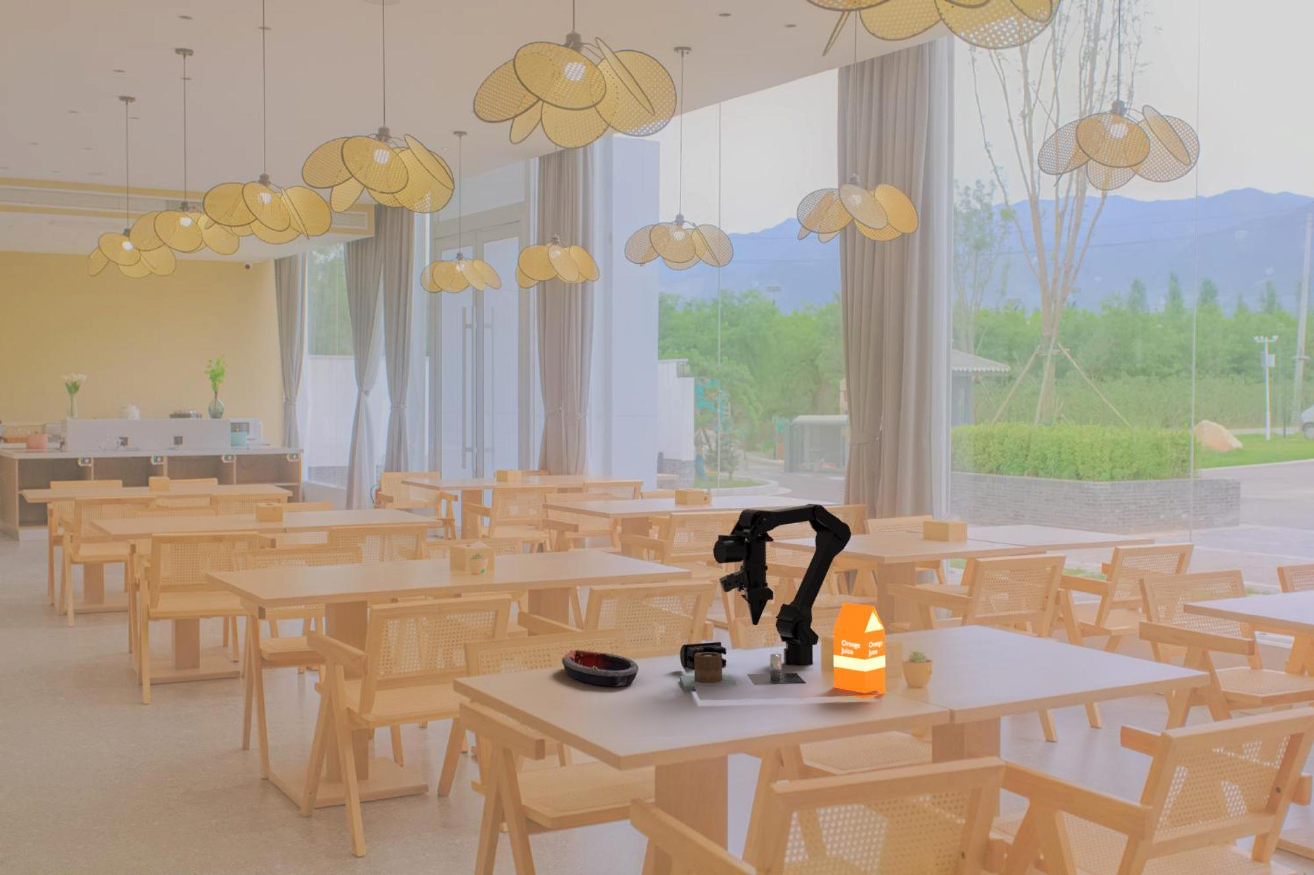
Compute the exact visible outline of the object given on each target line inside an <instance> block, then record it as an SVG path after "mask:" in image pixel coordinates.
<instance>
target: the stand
mask: <svg viewBox="0 0 1314 875" xmlns="http://www.w3.org/2000/svg"><path fill="white" fill-rule="evenodd" d="M769 659H770V660H769V662H770V666H769V667H770V670H769V671H770V673H747V674H746V675H747V677H748V678H749V680H750V681H751V682H752V683H753V685H755V686H759V685H766V686H767V685H796V684H797V685H798V684H807V682H806V681H805V680H804V679H803V678H802V677H801V676H800V675H799V674H798V673H797V672H789V673H788V672H787V673H786V672H783V673H782V671H783V670H782V654H780V653H771V654H770V655H769Z"/></svg>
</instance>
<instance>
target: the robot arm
mask: <svg viewBox="0 0 1314 875" xmlns="http://www.w3.org/2000/svg"><path fill="white" fill-rule="evenodd" d="M804 522H805V523H806V522H808V523H809V525H810V528H811V529H812V530H813V531H814V532H815V533H816V534H815V537H814V538H815V539H814V541H815V542H814V544H815V551H814V553H813V556H812V558H811V560H810V562H809V565H808V566H807V569H806V571H805V574H804V577H803V578H802V580H801V581H800V582H801V583H800V585H799V587H798V589H797V591H796V594H795V595H794V598H793V600H792V601H791V602H790V603H789V604H786V603H782V605H781V606H780V608H779V611H778V613H777V615H776V617H775V619H776V621H775V627H776V632H777V633H778V634H779V637H780V640H781V642H782V643H785V648H783V664H784V665H785V666H796V667H797V666H799V667H801V666H802V667H803V666H805V667H806V666H810V665H814V663H813V662H814V652H813V651H814V650H813V649H814V647H813V646H817V644H818V641H819V638H820V637H819V635H818V634H817V633H816V632H815V630H814V629H812V623H813V610H812V608H813V606H814V603H815V601H816V599H817V597H818V595H819V593H820V590H821V588H822V586H823V583H824V581H825V579H826V577H827V575H828V572H829V570H830V567H831V565H832V563H833V561H834V559H835V557H836V556H838V555H839V554H840V553H841V552H842V551H844V549H846V546H847V545H848V543H849V542H850V540H851V537H852V531H851V528H850V526H849V525H848V523H846V522H844V521H842V520H841V519H840V518H839V517H837V515H834V514H832V513H831V512H830V511H828V509H826V508H825V507H824V506H823V505H821V504H819V503H818V504H815V503H807V504H805V505H799V506H792V507H785V508H779V509H772V510H766V509H755V508H754V509H753V508H751V509H750V508H746V509H744V510H742V511H741V512H740V513H739V516H738V520H737V521H736V523H735V525H734V527H733V528H732V530H731V532H730V533H729V534H728V535H726V534H719V535H718V537H717V541H715V543H714V546H713V548H712V553H713V557H714V560H715V561H716V563H718V564H721V565H722V564H733V563H741V562H742V564H741V565H740V567H739V568H740V570H738V571H736V572H735V571H734V572H731V573H729V574H726V575H725V576H722V577H720V578H719V579H718V580H719V583H720V585H721V588H722V590H723V592H724V593H729V592H732V590H734V589H736V591H737V592H738V593H740V592H742V591H743V594H740V596H741V597H742V598H743V600H744V601H746V603H747V606H748V609H749V610H748V611H749V615H750V620H751V624H752V625H753V626H758V624H759V622H760V620H761V618H762V614H763V612H764V610H765V608H766V606H767V603H768V601H774V591H773V590H772V589H771V588H770V587H769V583H768V582H767V571H768V569H769V567H768V565H767V543H772V542H774V540H775V539H774V538H773V537H772V536H770V534H769V533H768V532H771V531H773V530H775V529H776V528H777V527H780V526H787V525H792V524H798V523H804Z"/></svg>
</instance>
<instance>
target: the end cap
mask: <svg viewBox="0 0 1314 875" xmlns="http://www.w3.org/2000/svg"><path fill="white" fill-rule="evenodd" d="M704 652H713V653H719V654H722V655H727V649H726V647H724V646H722V642H720V641H714V642H702V643H689V644H688V643H687V644H683V645H682V646H681V648H680V652H679V660H680V664H681V667H682V668H683V669H684V670H685V672H687V670H686V668H690V669H692V670H694V655H695V654H696V653H704ZM726 666H727V659H725V658H723V657H722V668H725V667H726Z"/></svg>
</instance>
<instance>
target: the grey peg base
mask: <svg viewBox="0 0 1314 875" xmlns="http://www.w3.org/2000/svg"><path fill="white" fill-rule="evenodd" d="M704 656H708V657H710V656H712V655H704ZM679 677H680V678H679V682H680V683H681V686H682V688H683V690H684V692H697V690H696V688H695V687H714V686H715V687H717V686H718V687H719V686H720V687H723V686H738V684H737V682H736V681H735V679H734V678H733V676H732V675H731V674H722V681H720V682H716V683H699V682H697V681H695V675H680V676H679Z"/></svg>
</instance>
